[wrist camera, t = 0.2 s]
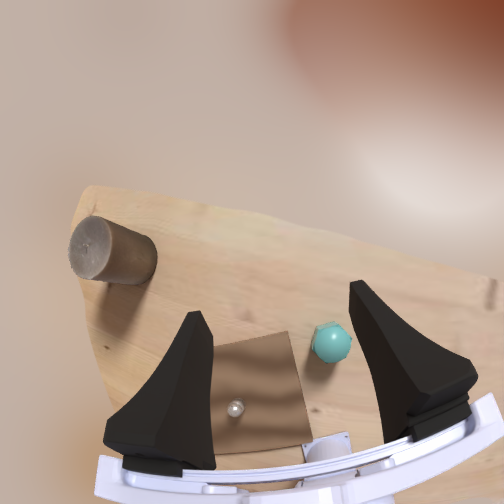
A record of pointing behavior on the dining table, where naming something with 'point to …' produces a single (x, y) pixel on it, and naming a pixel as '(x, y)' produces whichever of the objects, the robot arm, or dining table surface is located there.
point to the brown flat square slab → (257, 396)
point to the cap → (331, 342)
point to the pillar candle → (111, 252)
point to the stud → (236, 407)
